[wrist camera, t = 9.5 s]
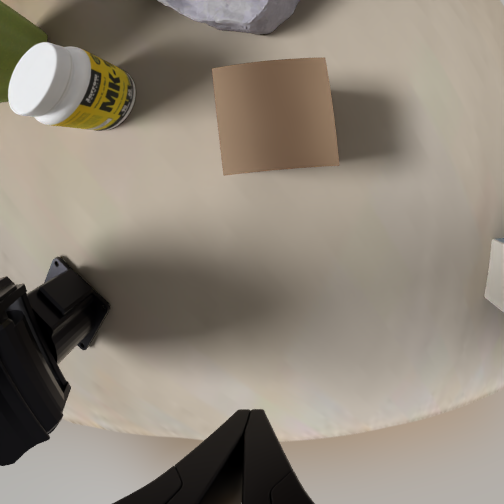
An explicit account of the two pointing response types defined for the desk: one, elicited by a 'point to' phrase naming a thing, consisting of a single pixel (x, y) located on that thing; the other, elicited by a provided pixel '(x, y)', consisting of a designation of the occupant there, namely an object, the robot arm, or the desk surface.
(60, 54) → the supplement bottle
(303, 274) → the desk surface
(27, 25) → the plant pot
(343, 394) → the desk surface
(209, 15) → the stone block
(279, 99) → the walnut block
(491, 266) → the slate block
